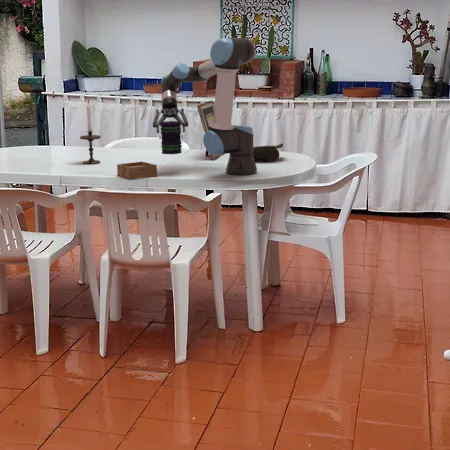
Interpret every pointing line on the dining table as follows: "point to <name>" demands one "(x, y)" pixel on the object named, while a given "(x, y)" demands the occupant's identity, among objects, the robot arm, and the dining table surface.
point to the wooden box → (137, 170)
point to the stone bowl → (267, 152)
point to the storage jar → (171, 137)
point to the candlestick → (90, 137)
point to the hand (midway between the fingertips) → (171, 137)
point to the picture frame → (207, 119)
